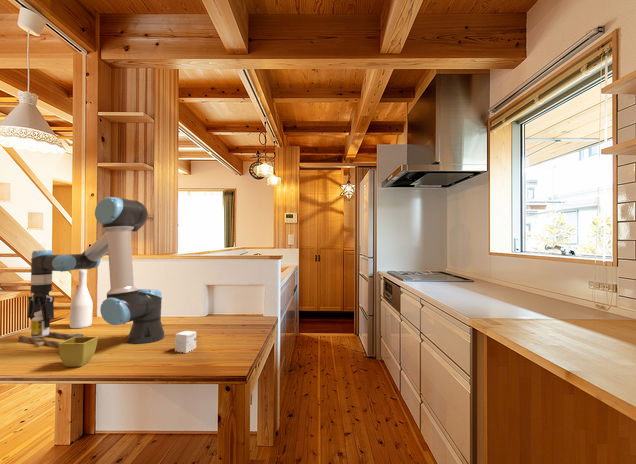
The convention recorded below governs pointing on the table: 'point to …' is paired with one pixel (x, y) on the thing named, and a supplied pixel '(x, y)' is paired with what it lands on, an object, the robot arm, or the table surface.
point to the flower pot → (77, 350)
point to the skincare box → (185, 341)
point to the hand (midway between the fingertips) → (40, 334)
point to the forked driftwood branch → (43, 342)
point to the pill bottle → (37, 325)
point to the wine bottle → (81, 304)
